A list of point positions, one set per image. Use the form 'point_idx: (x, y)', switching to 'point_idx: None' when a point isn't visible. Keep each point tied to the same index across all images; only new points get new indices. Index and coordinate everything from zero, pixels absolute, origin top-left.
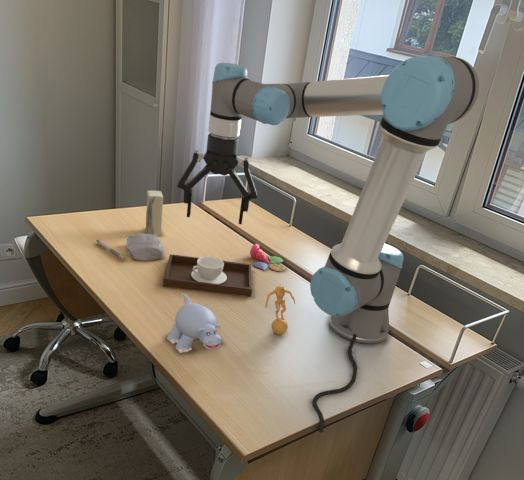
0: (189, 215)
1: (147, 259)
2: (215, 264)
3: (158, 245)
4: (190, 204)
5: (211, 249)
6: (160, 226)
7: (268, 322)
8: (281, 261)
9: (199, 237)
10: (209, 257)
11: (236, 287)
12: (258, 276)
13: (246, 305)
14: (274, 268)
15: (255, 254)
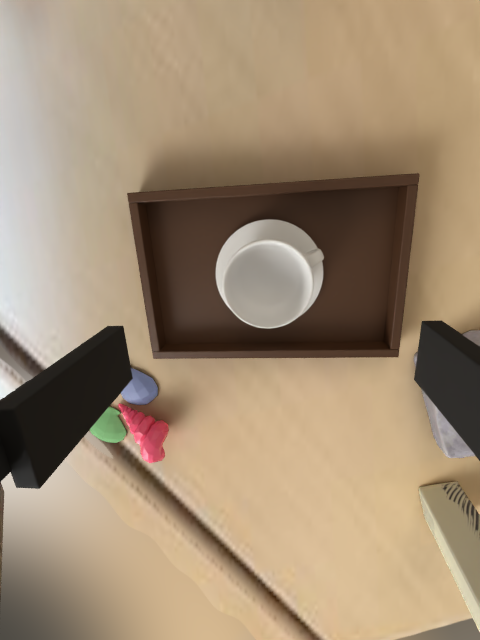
0: (429, 325)
1: None
2: (252, 312)
3: None
4: (472, 357)
5: (275, 443)
6: (432, 509)
7: (61, 33)
8: None
9: (311, 499)
10: (274, 324)
11: (174, 190)
12: (135, 326)
13: (141, 131)
14: None
15: (152, 424)
